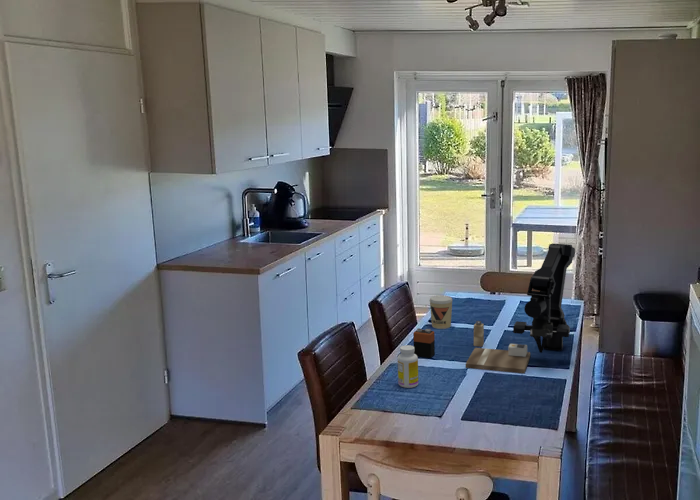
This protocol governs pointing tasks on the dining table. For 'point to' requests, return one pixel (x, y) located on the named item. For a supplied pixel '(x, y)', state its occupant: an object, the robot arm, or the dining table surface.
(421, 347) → the battery
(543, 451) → the dining table surface
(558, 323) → the robot arm
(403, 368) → the supplement bottle
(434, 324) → the coffee cup
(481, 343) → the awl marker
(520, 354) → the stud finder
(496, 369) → the board
